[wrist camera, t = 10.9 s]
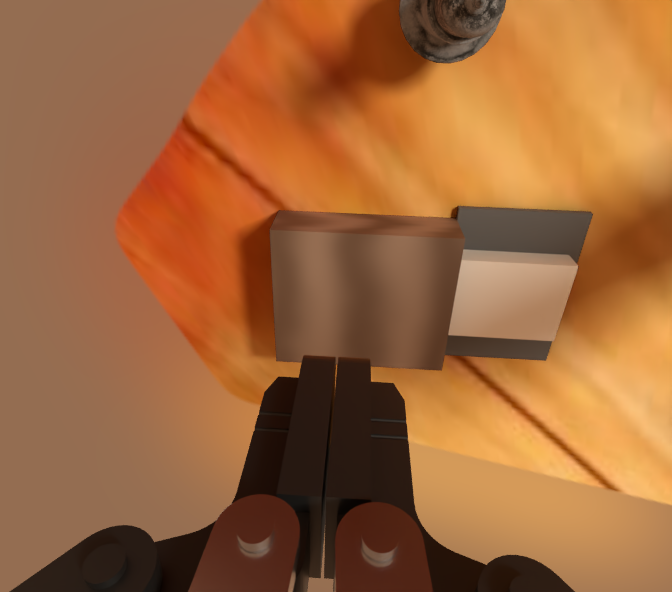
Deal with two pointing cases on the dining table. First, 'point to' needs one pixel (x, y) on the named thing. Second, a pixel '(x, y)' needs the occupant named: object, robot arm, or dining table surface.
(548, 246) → the mat
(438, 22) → the salt shaker
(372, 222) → the block
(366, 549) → the robot arm
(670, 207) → the dining table surface
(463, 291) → the tile
